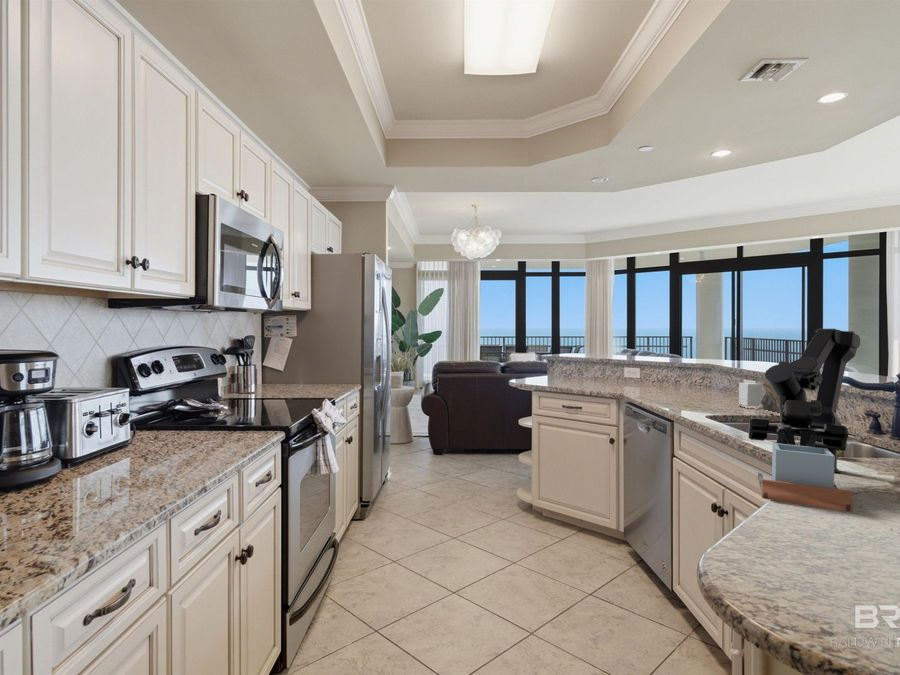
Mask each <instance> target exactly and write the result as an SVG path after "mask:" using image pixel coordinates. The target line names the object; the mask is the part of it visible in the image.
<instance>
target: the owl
mask: <svg viewBox="0 0 900 675" xmlns="http://www.w3.org/2000/svg"><path fill="white" fill-rule="evenodd" d="M763 388H764V390H765V393H764V395H763V396H762V397H763V398H761V407H762V409H764V410H768V411H772V412H777V413H780V412H779V398H778V395H776V394H775V393H774V392H773V390H772V388H771V386H770V384H769V382H768V381H767V379H766V378H765V380H764V382H763ZM764 410H763V411H764Z"/></svg>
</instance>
